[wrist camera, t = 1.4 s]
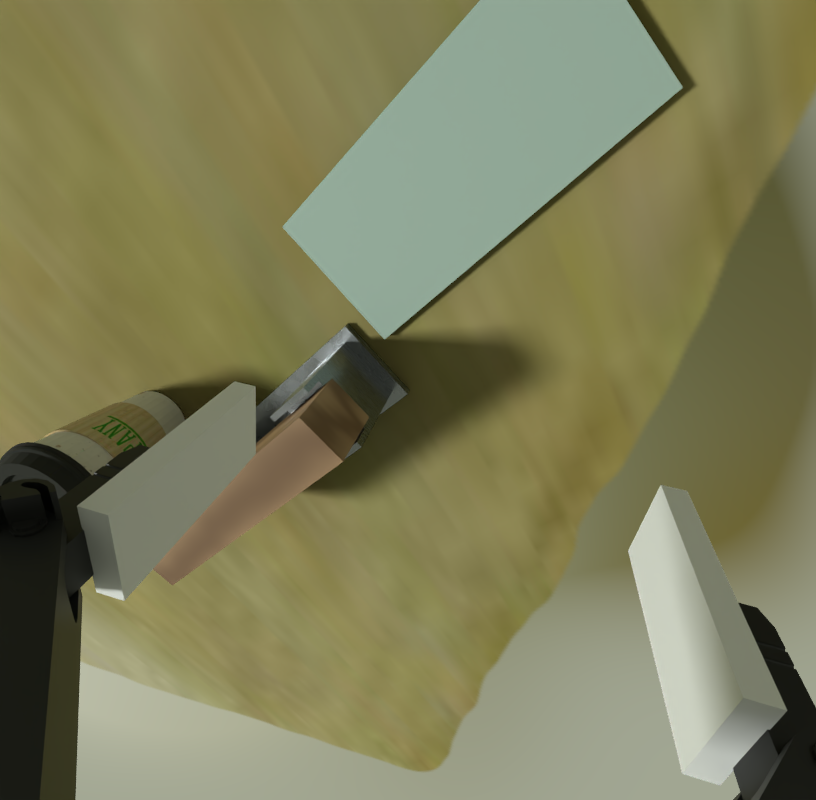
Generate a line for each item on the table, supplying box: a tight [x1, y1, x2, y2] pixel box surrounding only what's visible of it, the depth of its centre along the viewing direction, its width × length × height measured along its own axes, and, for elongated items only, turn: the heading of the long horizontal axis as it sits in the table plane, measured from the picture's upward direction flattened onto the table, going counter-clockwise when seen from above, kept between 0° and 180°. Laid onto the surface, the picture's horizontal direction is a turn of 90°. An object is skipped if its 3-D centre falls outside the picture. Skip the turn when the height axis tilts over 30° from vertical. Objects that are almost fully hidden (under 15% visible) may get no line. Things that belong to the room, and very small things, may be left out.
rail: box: [153, 379, 369, 585], centre depth 39 cm, size 4×22×6 cm, turn 133°
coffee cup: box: [0, 391, 185, 499], centre depth 46 cm, size 10×10×15 cm
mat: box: [283, 0, 683, 340], centre depth 35 cm, size 12×26×1 cm, turn 133°
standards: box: [256, 324, 409, 459], centre depth 44 cm, size 8×22×10 cm, turn 133°
